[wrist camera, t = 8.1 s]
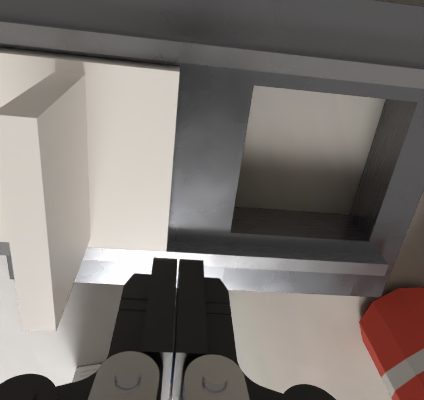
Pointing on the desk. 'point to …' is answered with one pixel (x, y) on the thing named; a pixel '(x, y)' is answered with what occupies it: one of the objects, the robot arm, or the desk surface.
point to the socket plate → (237, 125)
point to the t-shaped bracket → (80, 167)
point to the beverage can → (397, 341)
